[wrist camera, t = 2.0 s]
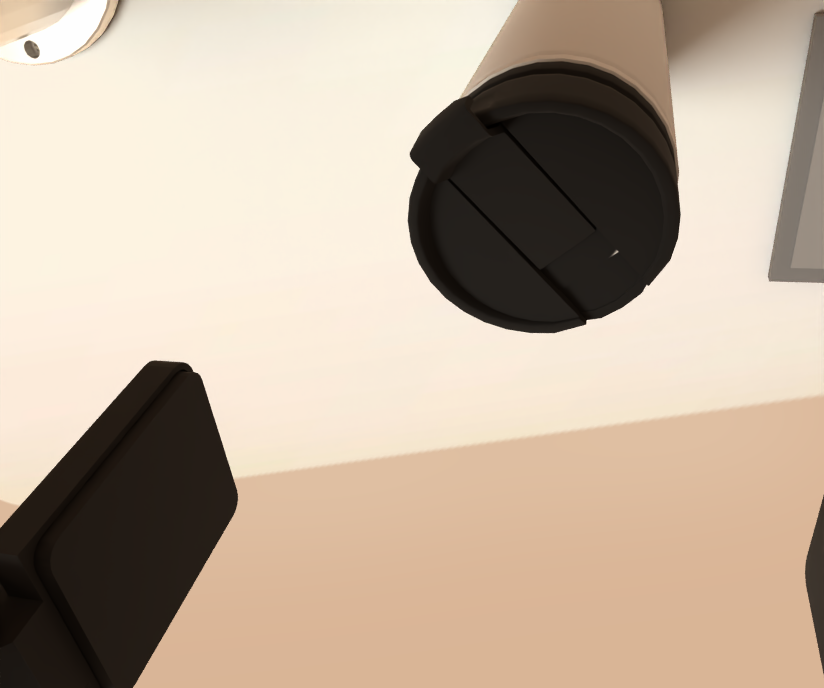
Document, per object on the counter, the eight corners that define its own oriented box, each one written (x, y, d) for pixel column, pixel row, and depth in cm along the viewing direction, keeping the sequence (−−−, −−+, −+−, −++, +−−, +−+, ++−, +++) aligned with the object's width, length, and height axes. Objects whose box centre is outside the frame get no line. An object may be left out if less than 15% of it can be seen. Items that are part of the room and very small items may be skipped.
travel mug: (595, -97, 30) (545, 20, 15) (694, 34, 32) (745, 264, 16) (479, 17, 34) (337, 212, 18) (574, 129, 36) (521, 396, 20)
